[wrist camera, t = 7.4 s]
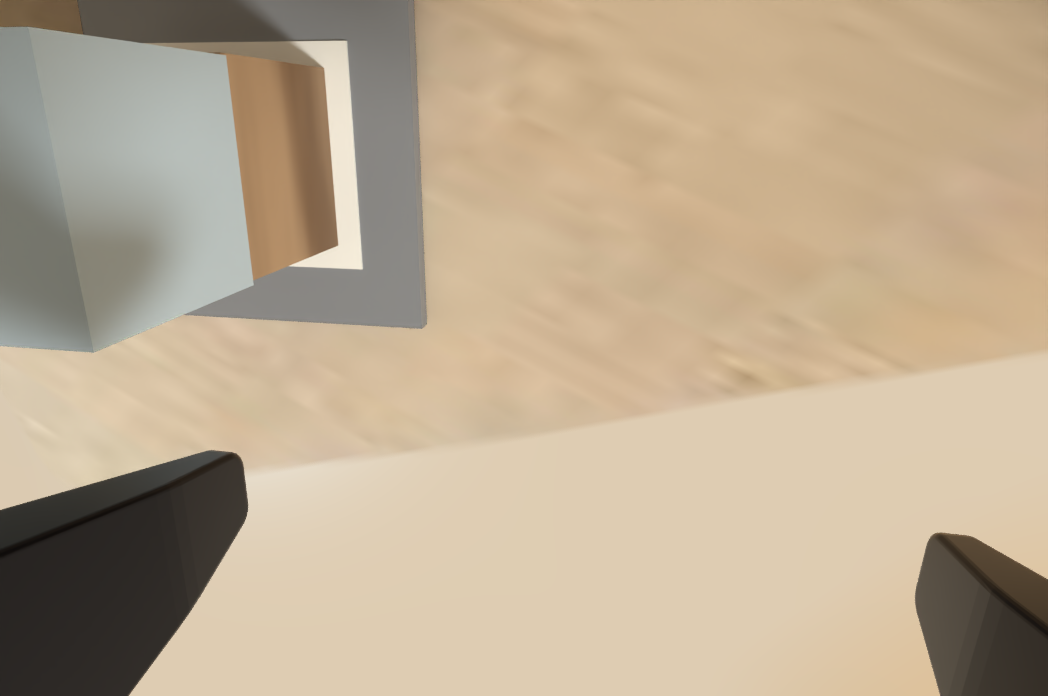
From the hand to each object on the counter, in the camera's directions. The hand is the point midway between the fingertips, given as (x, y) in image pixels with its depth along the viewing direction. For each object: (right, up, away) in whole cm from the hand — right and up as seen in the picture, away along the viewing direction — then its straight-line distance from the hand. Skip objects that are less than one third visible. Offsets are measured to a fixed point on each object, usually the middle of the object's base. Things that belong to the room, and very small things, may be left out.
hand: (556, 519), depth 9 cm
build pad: (-8, +8, +12) cm, 17 cm away
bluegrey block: (-9, +6, +7) cm, 13 cm away
